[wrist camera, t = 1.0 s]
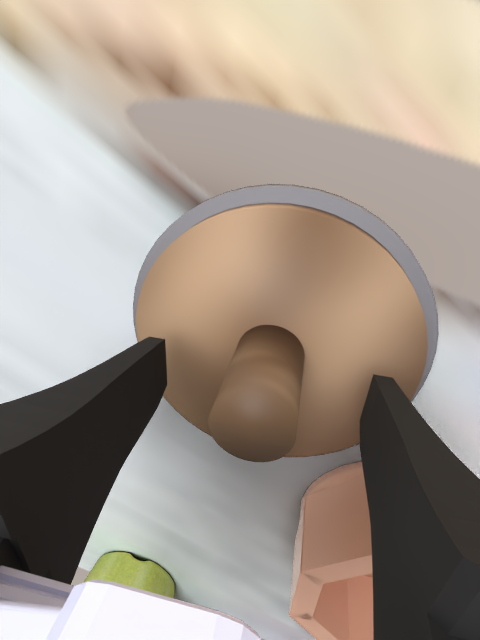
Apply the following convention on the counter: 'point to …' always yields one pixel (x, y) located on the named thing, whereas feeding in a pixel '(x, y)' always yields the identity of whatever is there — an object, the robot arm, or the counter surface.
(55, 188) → the counter surface
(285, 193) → the mat
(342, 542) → the bowl
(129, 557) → the plant pot
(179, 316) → the lid
